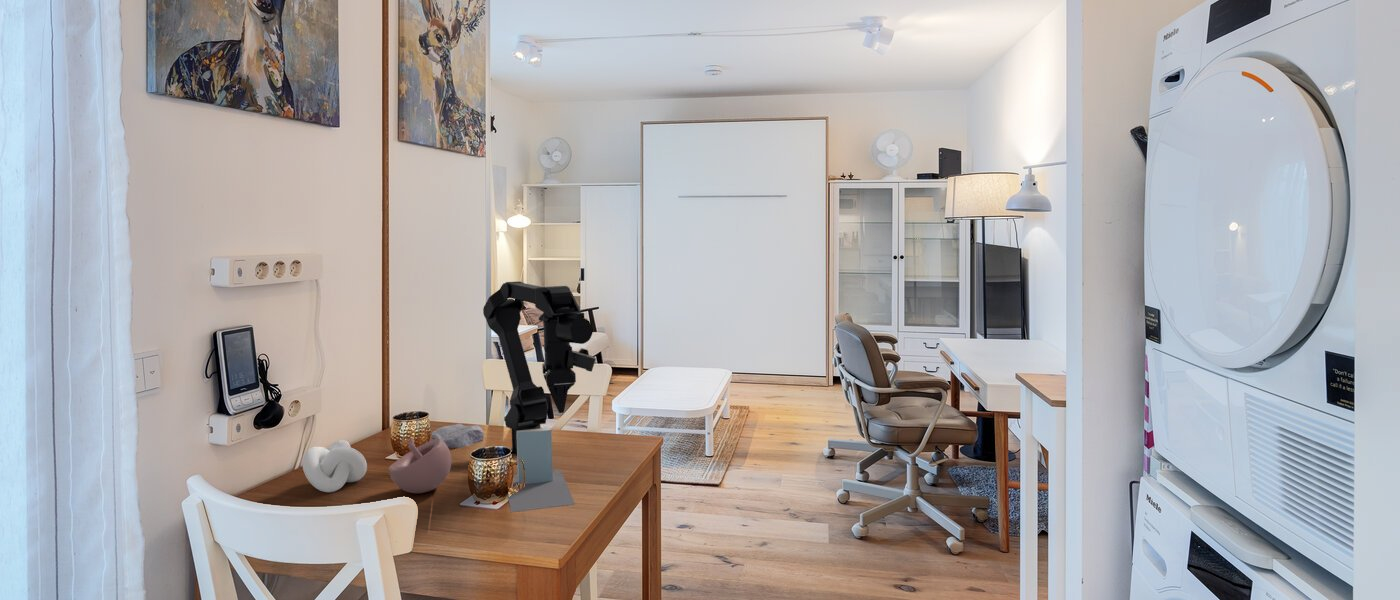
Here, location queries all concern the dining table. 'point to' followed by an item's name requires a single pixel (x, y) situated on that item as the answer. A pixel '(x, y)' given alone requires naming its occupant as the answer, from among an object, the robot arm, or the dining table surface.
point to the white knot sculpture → (333, 466)
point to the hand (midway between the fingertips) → (559, 408)
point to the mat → (541, 494)
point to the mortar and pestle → (422, 467)
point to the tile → (535, 455)
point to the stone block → (459, 435)
